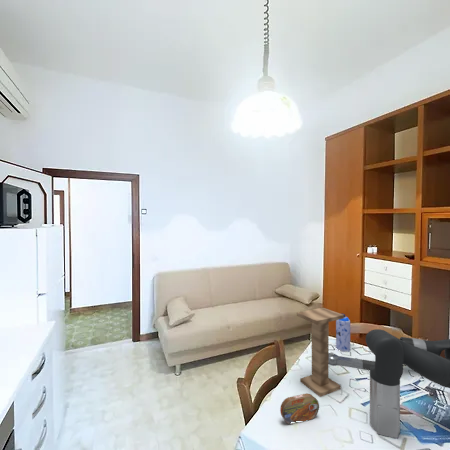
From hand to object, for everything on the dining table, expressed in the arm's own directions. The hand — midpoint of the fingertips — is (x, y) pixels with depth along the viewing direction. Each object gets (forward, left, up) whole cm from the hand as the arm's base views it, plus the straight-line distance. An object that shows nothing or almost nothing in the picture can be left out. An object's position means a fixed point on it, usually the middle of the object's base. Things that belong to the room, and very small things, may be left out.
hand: (374, 341), depth 134 cm
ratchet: (-1, +11, -13) cm, 17 cm away
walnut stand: (-24, +26, -13) cm, 37 cm away
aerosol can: (+18, +13, -13) cm, 25 cm away
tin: (-48, +34, -13) cm, 60 cm away
